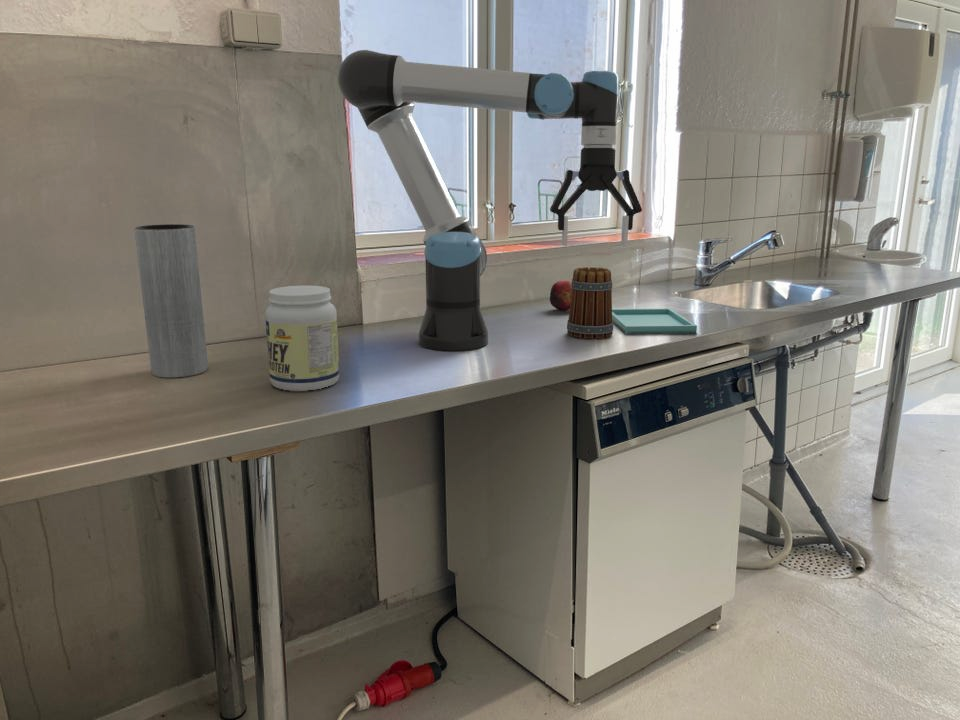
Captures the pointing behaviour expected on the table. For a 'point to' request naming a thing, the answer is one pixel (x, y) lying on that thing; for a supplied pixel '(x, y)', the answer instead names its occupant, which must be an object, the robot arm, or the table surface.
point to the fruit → (561, 295)
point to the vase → (172, 299)
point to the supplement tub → (302, 338)
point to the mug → (591, 304)
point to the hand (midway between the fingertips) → (594, 245)
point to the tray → (651, 321)
